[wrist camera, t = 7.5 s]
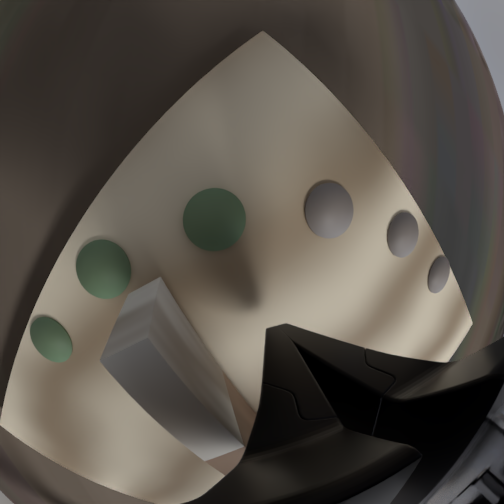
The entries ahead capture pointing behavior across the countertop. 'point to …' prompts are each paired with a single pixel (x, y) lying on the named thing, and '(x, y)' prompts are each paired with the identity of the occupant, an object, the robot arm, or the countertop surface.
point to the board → (228, 265)
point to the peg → (177, 377)
